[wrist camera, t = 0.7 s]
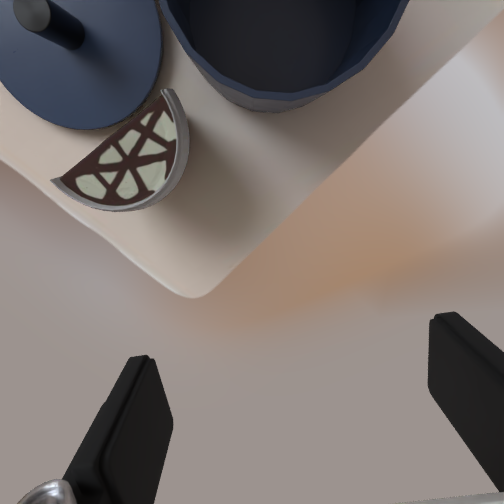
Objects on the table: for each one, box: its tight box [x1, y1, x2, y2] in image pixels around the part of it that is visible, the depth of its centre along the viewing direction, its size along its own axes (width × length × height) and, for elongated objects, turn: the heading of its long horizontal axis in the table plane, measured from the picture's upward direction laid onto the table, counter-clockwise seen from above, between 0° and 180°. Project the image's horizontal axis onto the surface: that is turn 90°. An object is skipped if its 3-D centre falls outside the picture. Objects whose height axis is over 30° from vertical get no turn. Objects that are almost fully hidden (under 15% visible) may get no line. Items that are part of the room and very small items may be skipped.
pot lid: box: [0, 0, 163, 130], centre depth 28 cm, size 17×17×7 cm
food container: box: [50, 89, 190, 212], centre depth 30 cm, size 12×6×10 cm, turn 125°
